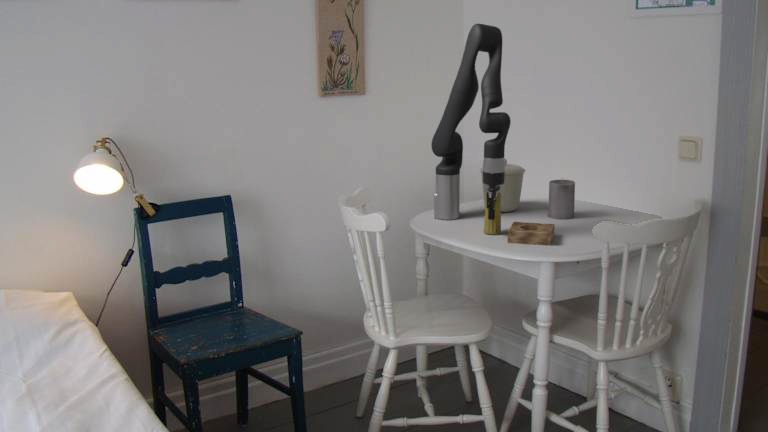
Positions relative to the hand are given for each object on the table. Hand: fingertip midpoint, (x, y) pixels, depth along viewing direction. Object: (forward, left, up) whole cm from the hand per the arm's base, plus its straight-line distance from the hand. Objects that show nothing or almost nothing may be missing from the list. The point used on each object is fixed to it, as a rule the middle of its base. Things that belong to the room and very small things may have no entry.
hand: (492, 217), depth 259 cm
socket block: (+14, -5, -6) cm, 16 cm away
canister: (-3, +39, -6) cm, 40 cm away
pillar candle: (+21, +32, -6) cm, 39 cm away
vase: (0, 0, -6) cm, 6 cm away
